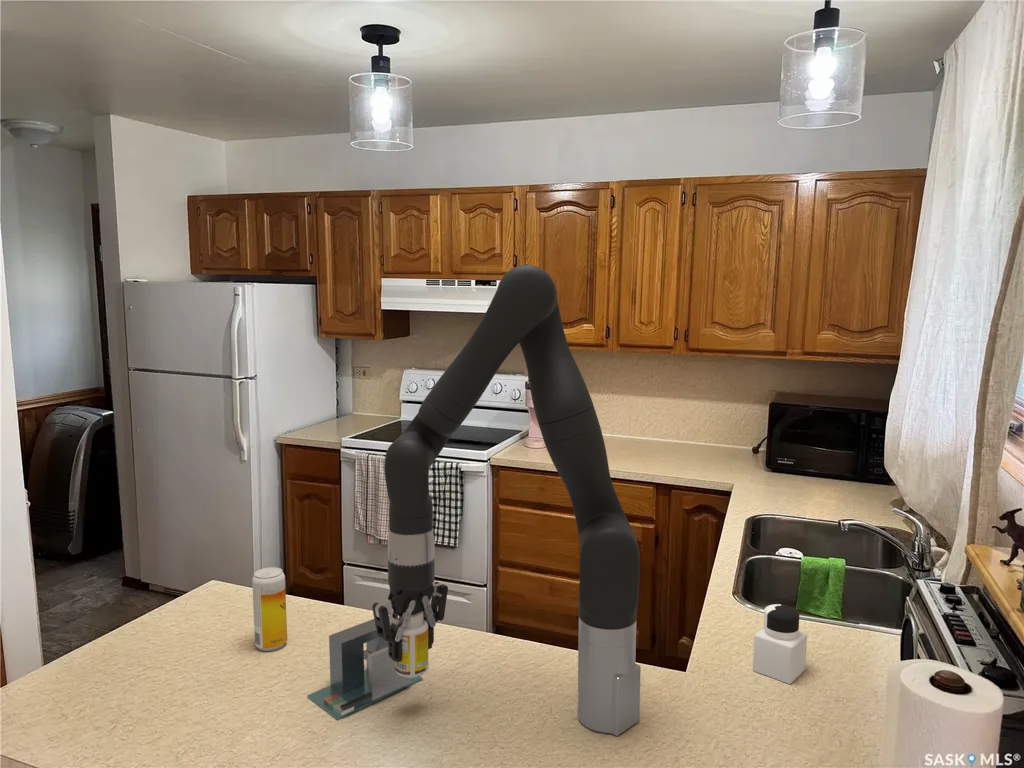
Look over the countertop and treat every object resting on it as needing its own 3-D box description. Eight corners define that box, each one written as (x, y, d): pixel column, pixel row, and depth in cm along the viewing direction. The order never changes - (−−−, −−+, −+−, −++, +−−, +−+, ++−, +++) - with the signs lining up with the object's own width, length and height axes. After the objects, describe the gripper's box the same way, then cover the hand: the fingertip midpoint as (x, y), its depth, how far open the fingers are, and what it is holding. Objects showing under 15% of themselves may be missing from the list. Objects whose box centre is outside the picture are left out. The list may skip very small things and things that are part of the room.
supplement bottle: (428, 661, 122) (428, 604, 121) (428, 678, 117) (428, 618, 116) (395, 662, 122) (395, 604, 121) (393, 680, 116) (392, 619, 115)
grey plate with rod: (410, 682, 127) (409, 641, 126) (343, 714, 117) (342, 669, 116) (384, 666, 133) (383, 626, 132) (318, 695, 123) (316, 652, 122)
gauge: (422, 679, 130) (421, 629, 128) (337, 720, 117) (335, 664, 116) (391, 661, 136) (390, 612, 135) (307, 697, 124) (305, 644, 123)
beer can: (294, 642, 143) (291, 570, 142) (269, 655, 138) (265, 580, 136) (273, 635, 147) (270, 564, 145) (248, 647, 142) (245, 574, 140)
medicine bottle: (805, 670, 133) (809, 608, 132) (790, 685, 128) (793, 620, 126) (768, 657, 138) (771, 597, 136) (751, 671, 133) (754, 608, 131)
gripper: (388, 573, 109) (389, 678, 111) (459, 550, 119) (459, 647, 121) (360, 560, 114) (361, 660, 116) (431, 539, 125) (431, 632, 127)
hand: (411, 653), depth 119 cm, fingers closed on supplement bottle, 5 cm apart
